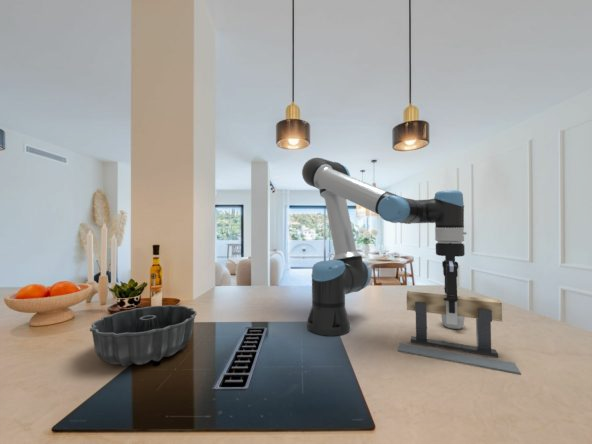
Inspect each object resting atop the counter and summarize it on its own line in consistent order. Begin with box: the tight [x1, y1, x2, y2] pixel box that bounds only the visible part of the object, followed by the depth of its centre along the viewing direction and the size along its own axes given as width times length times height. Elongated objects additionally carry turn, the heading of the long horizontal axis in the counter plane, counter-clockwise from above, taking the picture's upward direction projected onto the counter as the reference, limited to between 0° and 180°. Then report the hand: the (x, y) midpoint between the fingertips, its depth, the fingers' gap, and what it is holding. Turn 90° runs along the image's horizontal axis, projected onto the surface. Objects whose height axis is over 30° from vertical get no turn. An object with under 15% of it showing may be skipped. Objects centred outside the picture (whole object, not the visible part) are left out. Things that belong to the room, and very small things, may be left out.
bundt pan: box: [89, 304, 198, 367], centre depth 78 cm, size 26×26×10 cm
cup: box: [440, 314, 465, 330], centre depth 97 cm, size 11×8×8 cm
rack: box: [410, 302, 499, 358], centre depth 80 cm, size 22×7×13 cm, turn 64°
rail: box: [406, 290, 503, 322], centre depth 81 cm, size 24×4×5 cm, turn 64°
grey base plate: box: [397, 342, 522, 375], centre depth 74 cm, size 28×6×1 cm, turn 64°
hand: (450, 319), depth 81 cm, fingers open, 7 cm apart
